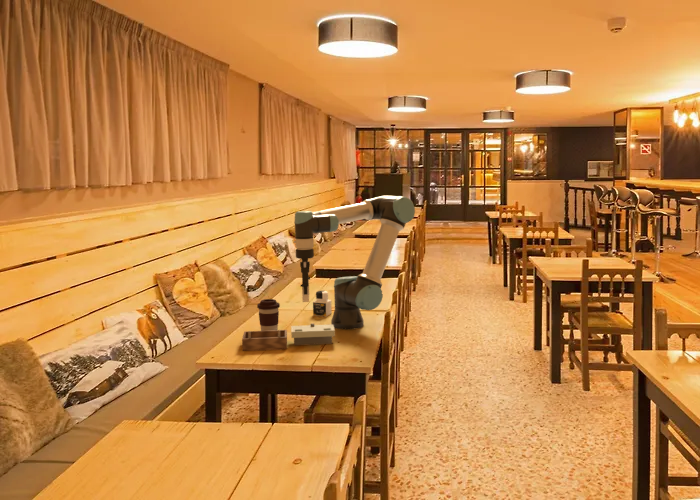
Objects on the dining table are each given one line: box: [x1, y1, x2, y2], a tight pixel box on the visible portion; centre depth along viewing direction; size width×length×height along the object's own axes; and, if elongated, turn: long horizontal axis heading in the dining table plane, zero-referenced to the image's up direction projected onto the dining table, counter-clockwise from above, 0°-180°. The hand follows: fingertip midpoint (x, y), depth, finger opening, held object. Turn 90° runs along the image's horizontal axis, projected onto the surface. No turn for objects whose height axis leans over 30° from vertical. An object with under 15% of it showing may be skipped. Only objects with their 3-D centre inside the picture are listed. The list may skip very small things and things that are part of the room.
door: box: [290, 323, 336, 339], centre depth 271 cm, size 18×10×4 cm, turn 95°
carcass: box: [241, 329, 288, 352], centre depth 268 cm, size 18×12×8 cm
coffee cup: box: [256, 298, 281, 331], centre depth 288 cm, size 10×10×15 cm
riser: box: [293, 336, 333, 346], centre depth 271 cm, size 16×4×4 cm, turn 95°
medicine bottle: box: [312, 290, 333, 318], centre depth 321 cm, size 7×7×12 cm
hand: (306, 298), depth 270 cm, fingers open, 13 cm apart
